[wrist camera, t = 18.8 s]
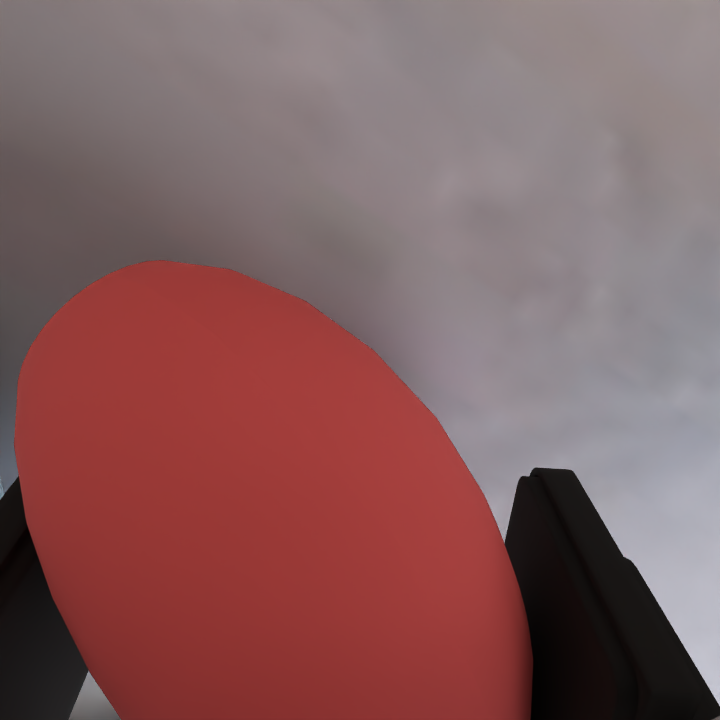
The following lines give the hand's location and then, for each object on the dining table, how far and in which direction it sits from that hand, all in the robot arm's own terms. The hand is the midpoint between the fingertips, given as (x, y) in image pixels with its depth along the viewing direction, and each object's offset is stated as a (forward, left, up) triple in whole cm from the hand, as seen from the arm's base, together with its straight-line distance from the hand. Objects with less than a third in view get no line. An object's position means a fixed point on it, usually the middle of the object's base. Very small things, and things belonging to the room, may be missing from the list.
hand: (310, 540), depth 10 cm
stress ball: (0, 0, -1) cm, 1 cm away
